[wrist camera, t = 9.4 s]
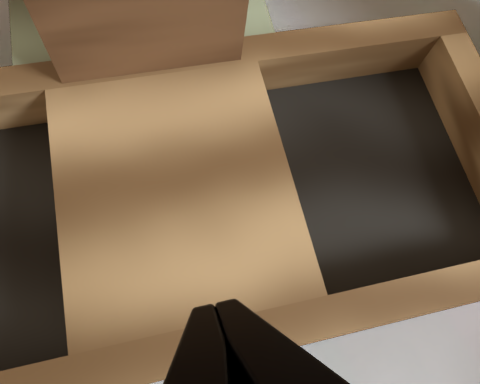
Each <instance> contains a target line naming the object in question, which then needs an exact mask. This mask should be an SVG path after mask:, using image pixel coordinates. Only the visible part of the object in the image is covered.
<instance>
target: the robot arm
mask: <svg viewBox="0 0 480 384" xmlns="http://www.w3.org/2000/svg"><path fill="white" fill-rule="evenodd" d="M163 384H350V383H348V382H347V381H346V380H344V379H343V378H342V377H340V376H339V375H338V374H336V373H335V372H333V371H332V370H331V369H329V368H328V367H327V366H325V365H324V364H323V363H321V362H320V361H319V360H317V359H316V358H315V357H313V356H312V355H311V354H309V353H308V352H307V351H305V350H304V349H303V348H301V347H300V346H299V345H297V344H296V343H295V342H293V341H292V340H291V339H289V338H288V337H287V336H285V335H284V334H283V333H281V332H280V331H279V330H277V329H276V328H275V327H273V326H272V325H271V324H269V323H268V322H267V321H265V320H264V319H263V318H261V317H260V316H259V315H257V314H256V313H255V312H253V311H252V310H251V309H249V308H248V307H247V306H245V305H244V304H243V303H241V302H240V301H239V300H237V299H229V300H225V301H220V302H217V303H216V304H215V306H214V305H213V304H207V305H202V306H198V307H194V308H193V309H192V311H191V313H190V316H189V318H188V321H187V323H186V326H185V329H184V331H183V334H182V336H181V339H180V341H179V344H178V347H177V349H176V352H175V354H174V357H173V360H172V362H171V365H170V367H169V370H168V373H167V375H166V378H165V380H164V383H163Z"/></svg>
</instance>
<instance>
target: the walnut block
mask: <svg viewBox="0 0 480 384" xmlns="http://www.w3.org/2000/svg"><path fill="white" fill-rule="evenodd" d="M23 1H24V3H25V6H26V8H27V10H28V12H29V14H30V16H31V18H32V20H33V23H34V25H35V27H36V29H37V31H38V33H39V35H40V37H41V39H42V42H43V44H44V46H45V48H46V50H47V52H48V54H49V56H50V59H51V61H52V63H53V65H54V67H55V69H56V71H57V73H58V76H59V78H60V80H61V82H62V84H63V83H71V82H78V81H85V80H93V79H100V78H108V77H115V76H123V75H130V74H138V73H145V72H153V71H160V70H167V69H175V68H182V67H190V66H197V65H205V64H212V63H220V62H227V61H235V60H241V55H242V48H243V41H244V33H245V26H246V18H247V11H248V4H249V0H23Z"/></svg>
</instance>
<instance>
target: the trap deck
mask: <svg viewBox="0 0 480 384" xmlns="http://www.w3.org/2000/svg"><path fill="white" fill-rule="evenodd" d="M9 16H10V33H11V50H12V66H5V67H0V384H149V383H153V382H157V381H161V380H165V378H166V375H167V373H168V370H169V367H170V365H171V362H172V360H173V357H174V354H175V352H176V349H177V347H178V344H179V341H180V339H181V336H182V334H183V331H184V329H185V326H186V323H187V321H188V318H189V316H190V313H191V311H192V309H193V308H194V307H198V306H202V305H207V304H213V305H214V306H215V304H216V303H217V302H220V301H225V300H229V299H237V300H239V301H240V302H241V303H243V304H244V305H245V306H247V307H248V308H249V309H251V310H252V311H253V312H255V313H256V314H257V315H259V316H260V317H261V318H263V319H264V320H265V321H267V322H268V323H269V324H271V325H272V326H273V327H275V328H276V329H277V330H279V331H280V332H281V333H283V334H284V335H285V336H287V337H288V338H289V339H291V340H292V341H293V342H295V343H296V344H297V345H299V346H302V345H306V344H310V343H314V342H318V341H322V340H326V339H330V338H334V337H338V336H342V335H346V334H350V333H354V332H358V331H362V330H366V329H370V328H374V327H378V326H382V325H386V324H390V323H394V322H398V321H402V320H406V319H410V318H414V317H418V316H422V315H426V314H430V313H434V312H438V311H442V310H446V309H450V308H454V307H458V306H462V305H466V304H470V303H474V302H478V301H480V56H479V54H478V52H477V50H476V48H475V46H474V45H473V43H472V41H471V39H470V37H469V35H468V33H467V31H466V29H465V27H464V25H463V23H462V21H461V19H460V18H459V16H458V14H457V12H456V10H449V11H441V12H434V13H426V14H418V15H410V16H402V17H394V18H386V19H378V20H370V21H362V22H354V23H346V24H338V25H330V26H322V27H315V28H307V29H299V30H291V31H283V32H275V30H274V27H273V24H272V21H271V18H270V15H269V12H268V9H267V6H266V3H265V0H249V4H248V11H247V18H246V26H245V33H244V41H243V48H242V55H241V60H235V61H227V62H220V63H212V64H205V65H197V66H190V67H182V68H175V69H167V70H160V71H153V72H145V73H138V74H130V75H123V76H115V77H108V78H100V79H93V80H85V81H78V82H71V83H63V84H62V82H61V80H60V78H59V76H58V73H57V71H56V69H55V67H54V65H53V63H52V61H51V59H50V56H49V54H48V52H47V50H46V48H45V46H44V44H43V42H42V39H41V37H40V35H39V33H38V31H37V29H36V27H35V25H34V23H33V20H32V18H31V16H30V14H29V12H28V10H27V8H26V6H25V3H24V1H23V0H9Z"/></svg>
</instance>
